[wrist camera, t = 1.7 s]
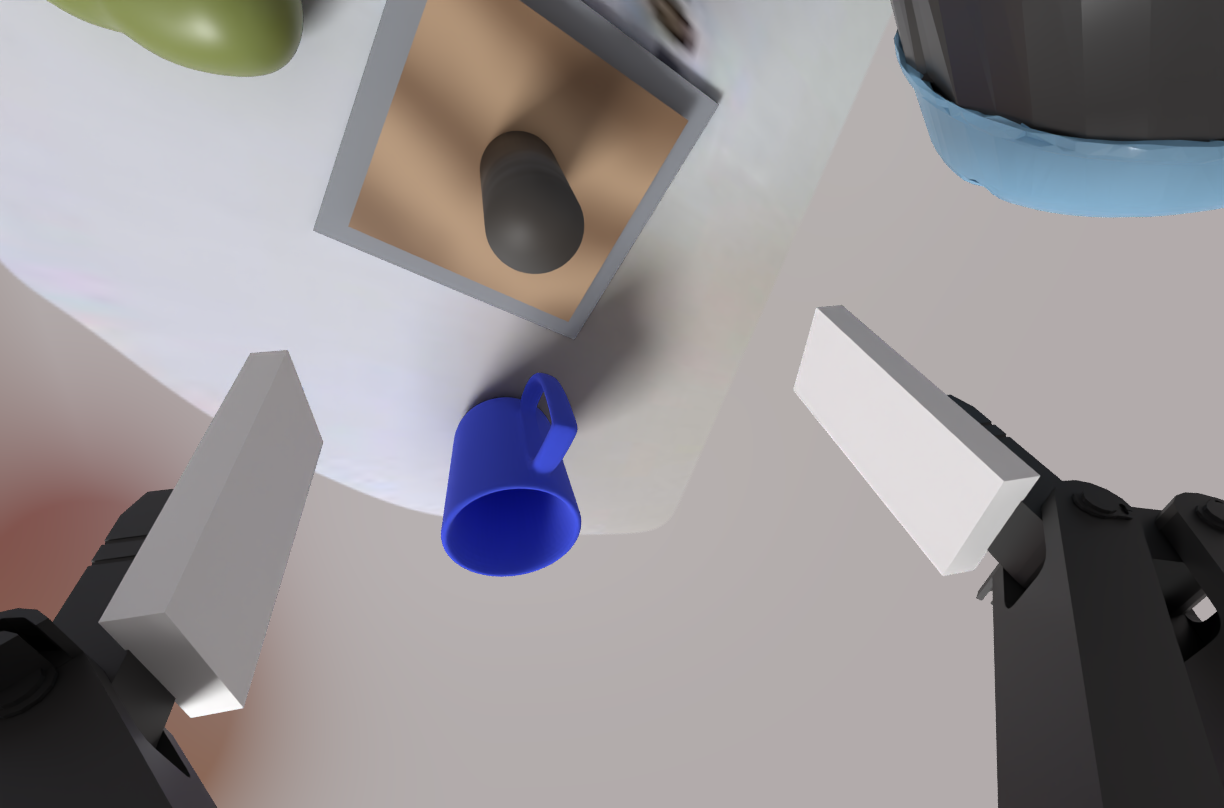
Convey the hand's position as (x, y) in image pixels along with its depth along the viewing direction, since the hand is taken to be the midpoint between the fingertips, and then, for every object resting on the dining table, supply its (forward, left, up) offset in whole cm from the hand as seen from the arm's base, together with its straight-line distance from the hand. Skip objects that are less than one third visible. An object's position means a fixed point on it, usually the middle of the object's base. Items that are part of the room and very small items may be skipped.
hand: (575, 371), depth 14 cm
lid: (0, 0, -20) cm, 20 cm away
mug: (+15, +7, -20) cm, 26 cm away
